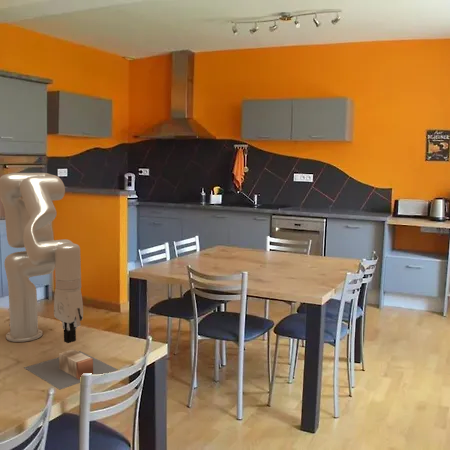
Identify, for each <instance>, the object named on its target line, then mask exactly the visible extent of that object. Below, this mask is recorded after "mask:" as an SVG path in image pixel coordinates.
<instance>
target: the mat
mask: <svg viewBox="0 0 450 450" xmlns="http://www.w3.org/2000/svg"><path fill="white" fill-rule="evenodd" d="M77 351H78V350H77ZM78 352H80V353H82V354H84V355H86V356H88V357H90V358H92V359H93V374H103V373H107V374H110V373H112V372H116V371H118V370H119V369H118V368H116V367H114V366H112V365H110V364H107V362H104V361H102V360H99V359H97V358H95V357H93V356H91V355H89V354H87V353H85V352H83V351H81V350H80V351H78ZM23 368H24V370H27V371H29V372H30V373H32V374H33V375H35V376H36V377H38V378H39V379H41V380H43V381H45V382H46V383H48V384H50V385H51V386H53V387H54V388H56V389H58V390H60V391H61V390H63V389H65V388H69V387H72V386H74V385H78V384H81V383H80V379H77V378H75V377H74V376H72V375H70V374H68V373H66V372H65V371H63V370H61V369H59V356H58V357H55V358H52V359H48V360H45V361H42V362H41V361H40V362H38V363H35V364H31V365H28V366H24V367H23ZM109 372H110V373H109Z"/></svg>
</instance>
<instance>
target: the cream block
mask: <svg viewBox="0 0 450 450" xmlns="http://www.w3.org/2000/svg"><path fill="white" fill-rule="evenodd" d="M58 357H59V369H61V370H63V371H65V372H66V373H68V374H70V375H72V376H74V377H75V378H77V379H80V377H81V375H82V374H83V373H92V374H93V359H92V358H90V357H88V356H86V355H84V354H82V353H80V352H78V350H76V349H73V348H72V349H69V350H66V351H63V352H59V353H58Z"/></svg>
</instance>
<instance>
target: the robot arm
mask: <svg viewBox="0 0 450 450" xmlns="http://www.w3.org/2000/svg"><path fill="white" fill-rule="evenodd" d="M65 194H66V186H65V184H64V182H63V180H62V179H61V178H60V177H59V176H58V175H54V174H51V173H47V172H14V173H11V172H10V173H6V174H2V175H1V176H0V202H1V203H2V206H3V211H4V218H5V219H4V220H5V231H6V240H7V243H8V246H10V247H11V248H14V249H21V248H24V249H25V250H24V251H23V250H22V251H16V252H13V253H10V254H8V255H7V256H5V259H4V262H3V263H4V270H5V274H6V279H7V289H8V305H9V306H8V310H9V311H8V312H9V328H10V329H9V331H8V332H7V333H6V334H5V338H6V340H8V341H9V342H13V343H23V342H30V341H35V340H37V339H39V338H41V337H42V336H43V330H42V329H39V325H38V324H39V323H38V322H39V320H38V297H37V295H38V294H37V287H36V286H35V284H34V282H32V281H31V280H30V278H33V277H38V276H46V275H51V273H53V272H54V271H55V272H54V274H55V275H54V278H55V279H54V280H55V290H54V297H53V315H54V318H55V319H56V320H59V321H61V323H62V324H61V325H62V329H63V342H64V343H66V344H71V343H75V342H76V341H77V338H76V337H77V333H76V332H77V331H76V330H77V328H79V327H80V326H81V321H83V319H84V306H83V305H84V303H83V295H82V290H81V289H82V271H81V270H82V268H81V267H82V266H81V265H82V264H81V261H82V260H81V259H82V258H81V247H80V245H79V244H77V243H74V242H73V241H72V240H70V239H65V238H64V239H56V240H55V239H54V231H53V227H52V225H51V223H52V222H54V220H55V218H56V217H57V210H56V207H55V205H54V203H53V201H60V200H63V198H64V197H65Z"/></svg>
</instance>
